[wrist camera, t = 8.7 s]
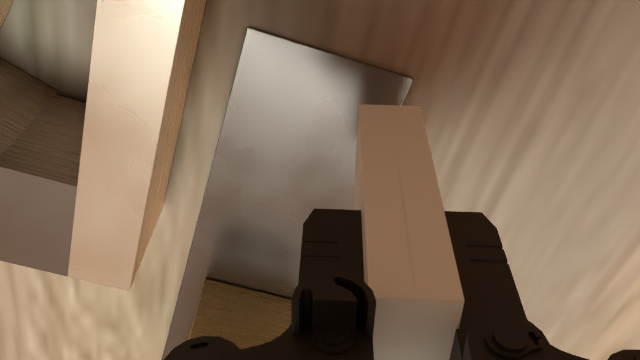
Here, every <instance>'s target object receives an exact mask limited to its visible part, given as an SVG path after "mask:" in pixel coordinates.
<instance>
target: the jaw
mask: <svg viewBox="0 0 640 360" xmlns="http://www.w3.org/2000/svg"><path fill="white" fill-rule="evenodd" d="M205 5H206V0H97V9H96V18H95V27H94V37H93V46H92V55H91V64H90V74H89V83H88V92H87V101H86V103H84V102H80V101H77V100H73V99H70V98H66V97H62V96H59V95H55V94H54V95H53V97H52V98H51V99H50V100H49V101H48V102H47V104H46V105H45V106H44V107H43V108H42V109H41V110H40V112H39V113H38V114H37V115H36V116H35V117H34V118H33V120H32V121H31V122H30V123H29V124H28V125H27V127H26V128H25V129H24V130H23V131H22V132H21V133H20V135H19V136H18V137H17V138H16V139H15V140H14V141H13V143H12V144H11V145H10V146H9V147H8V148H7V150H6V151H5V152H4V153H3V154H2V155H1V156H0V260H1V261H5V262H9V263H13V264H17V265H22V266H26V267H30V268H34V269H38V270H43V271H47V272H51V273H55V274H59V275H64V276H68V277H72V278H76V279H80V280H85V281H89V282H93V283H97V284H101V285H106V286H110V287H114V288H118V289H122V290H127V291H129V290H130V288H131V285H132V283H133V280H134V278H135V275H136V273H137V270H138V268H139V266H140V263H141V261H142V258H143V256H144V253H145V251H146V248H147V246H148V243H149V241H150V238H151V236H152V233H153V231H154V228H155V226H156V223H157V221H158V218H159V216H160V213H161V211H162V208H163V204H164V199H165V194H166V189H167V185H168V180H169V175H170V170H171V166H172V161H173V156H174V152H175V147H176V142H177V137H178V133H179V128H180V123H181V118H182V114H183V109H184V104H185V100H186V95H187V90H188V85H189V81H190V76H191V71H192V67H193V62H194V57H195V52H196V48H197V43H198V38H199V33H200V29H201V24H202V19H203V15H204V10H205Z"/></svg>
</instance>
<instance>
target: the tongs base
mask: <svg viewBox="0 0 640 360" xmlns="http://www.w3.org/2000/svg"><path fill="white" fill-rule="evenodd" d="M12 3H13V0H0V31H1V28H2V26H3V24H4V21H5V19H6V17H7V14H8V12H9V10H10V7H11V5H12ZM412 81H413V78H410V77H407V76H404V75H400V74H397V73H394V72H391V71H387V70H384V69H381V68H378V67H375V66H371V65H368V64H365V63H362V62H359V61H355V60H352V59H349V58H346V57H343V56H339V55H336V54H333V53H330V52H327V51H323V50H320V49H317V48H314V47H310V46H307V45H304V44H301V43H298V42H294V41H291V40H288V39H285V38H282V37H278V36H275V35H272V34H269V33H266V32H262V31H259V30H256V29H253V28H250V27H248V30H247V33H246V37H245V41H244V45H243V49H242V53H241V57H240V61H239V64H238V68H237V72H236V76H235V80H234V84H233V88H232V91H231V95H230V99H229V103H228V107H227V111H226V115H225V119H224V122H223V126H222V130H221V134H220V138H219V142H218V146H217V149H216V153H215V157H214V161H213V165H212V169H211V173H210V177H209V180H208V184H207V188H206V192H205V196H204V200H203V204H202V207H201V211H200V215H199V219H198V223H197V227H196V231H195V235H194V238H193V242H192V246H191V250H190V254H189V258H188V262H187V265H186V269H185V273H184V277H183V281H182V285H181V289H180V293H179V296H178V300H177V304H176V308H175V312H174V316H173V320H172V323H171V327H170V331H169V335H168V339H167V343H166V347H165V351H164V354H163V358H162V360H164V359H165V357H166V356H167V355H168V354H169V353H170V352H171V351H172V350H173V348H174V347H176V346H178V345H180V344H181V343H183V342H185V341H187V340H188V338H189V334H190V331H191V327H192V324H193V320H194V317H195V313H196V310H197V306H198V303H199V299H200V296H201V293H202V289H203V286H204V282H205V279H208V280H213V281H217V282H221V283H225V284H229V285H233V286H237V287H241V288H245V289H249V290H253V291H257V292H261V293H265V294H269V295H273V296H277V297H282V298H286V299H290V300H291V298H292V296H293V293H294V290H295V287H296V286H298V279H299V268H300V257H301V244H302V232H303V223H304V222H305V220H306V219H307V218H308V216H309V215H310V214H311V212H312V211H313V210H314V208H315V209H345V210H354V180H355V164H356V148H357V132H358V116H359V104H367V105H399V106H402V104H403V102H404V100H405V97H406V95H407V93H408V90H409V88H410V86H411V84H412ZM56 93H57V91H56V90H55V89H53V88H51V87H49V86H48V85H46V84H44V83H42V82H41V81H39V80H37V79H35V78H34V77H32V76H30V75H28V74H27V73H25V72H23V71H21V70H19V69H18V68H16V67H14V66H12V65H11V64H9V63H7V62H5V61H4V60H2V59H0V156H1V155H2V154H3V153H4V152H5V151H6V150H7V148H8V147H9V146H10V145H11V144H12V143H13V141H14V140H15V139H16V138H17V137H18V136H19V135H20V133H21V132H22V131H23V130H24V129H25V128H26V127H27V125H28V124H29V123H30V122H31V121H32V120H33V118H34V117H35V116H36V115H37V114H38V113H39V112H40V110H41V109H42V108H43V107H44V106H45V105H46V104H47V102H48V101H49V100H50V99H51V98H52V97H53V95H54V94H55V95H56Z"/></svg>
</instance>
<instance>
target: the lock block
mask: <svg viewBox="0 0 640 360" xmlns="http://www.w3.org/2000/svg"><path fill="white" fill-rule="evenodd" d="M290 324H291V300H290V299H286V298H282V297H277V296H273V295H269V294H265V293H261V292H257V291H253V290H249V289H245V288H241V287H237V286H233V285H229V284H225V283H221V282H217V281H213V280H208V279H205V282H204V286H203V289H202V293H201V296H200V299H199V303H198V306H197V310H196V313H195V317H194V320H193V324H192V327H191V331H190V334H189V338H188V339H192V338H197V337H201V336H216V337H222V338H224V339H227V340H229V341H231V342H233V343H234V344H235V345H236V346H237V347H238V348H239V349H245V348H249V347H253V346H257V345H261V344H263V343H266V342H269V341H272V340H273V339H275V338H277V337H278V336H280V335H281V334H282V333H283V332H284V331H286V330H287V329H288V328H289V326H290Z"/></svg>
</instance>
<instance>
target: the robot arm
mask: <svg viewBox="0 0 640 360" xmlns="http://www.w3.org/2000/svg"><path fill="white" fill-rule="evenodd" d="M164 360H588V359H585V358H582V357H578V356H575V355H572V354H569V353H566V352H564V351H561V350H559V349H557V348H555V347H554V346H552V345H550V344H549V342H548V340H547V339H546V337H545V336H544V334H543V332H542V331H541V330H539V329H538V328H537V327H536V326H535V325H534V324H532V323H531V322H530V321H528V320H527V318H526V315H525V312H524V309H523V306H522V303H521V300H520V297H519V294H518V291H517V288H516V285H515V282H514V279H513V276H512V273H511V270H510V267H509V264H507V258H506V255H505V252H504V250H503V249H502V243H501V240H500V237H499V234H498V231H497V228H496V227H495V226H494V225H493V224H492V223H491V222H490V221H489V220H488V219H487V218H486V217H485V216H484V215H483V213H481V212H451V211H444V208H443V204H442V199H441V195H440V191H439V186H438V182H437V177H436V173H435V169H434V164H433V160H432V156H431V151H430V147H429V142H428V138H427V134H426V129H425V125H424V120H423V116H422V112H421V107H420V106H399V105H367V104H359V116H358V132H357V148H356V164H355V180H354V210H345V209H315V208H314V210H313V211H312V212H311V214H310V215H309V216H308V218H307V219H306V220H305V222H304V223H303V232H302V244H301V257H300V268H299V279H298V286H296V287H295V290H294V293H293V296H292V298H291V324H290V326H289V328H288V329H287V330H286V331H284V332H283V333H282V334H281V335H280V336H278V337H277V338H275V339H273V340H272V341H269V342H266V343H263V344H261V345H257V346H253V347H249V348H245V349H239V348H238V347H237V346H236V345H235V344H234V343H233V342H231V341H229V340H227V339H224V338H222V337H216V336H201V337H197V338H192V339H188V340H187V341H185V342H183V343H181V344H180V345H178V346H176V347H174V348H173V350H172V351H171V352H170V353H169V354H168V355H167V356H166V357H165V359H164ZM608 360H640V350H622V351H619V352H617V353H614V354H612V355H611V356H610V357H609V359H608Z"/></svg>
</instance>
